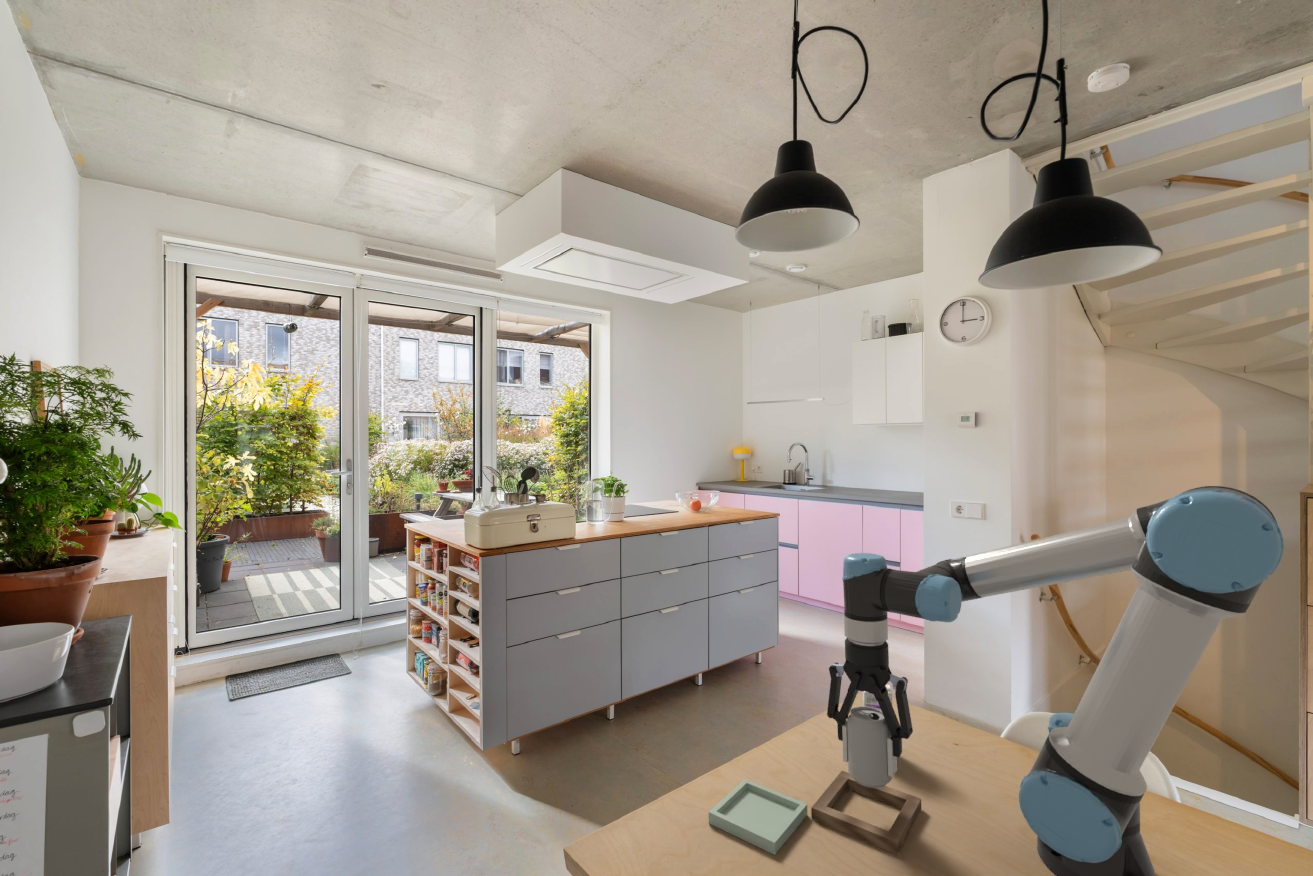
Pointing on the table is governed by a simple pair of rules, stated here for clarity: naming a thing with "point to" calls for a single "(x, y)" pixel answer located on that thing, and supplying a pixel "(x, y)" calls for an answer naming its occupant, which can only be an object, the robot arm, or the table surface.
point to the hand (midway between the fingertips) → (869, 765)
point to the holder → (864, 830)
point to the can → (868, 747)
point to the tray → (758, 815)
